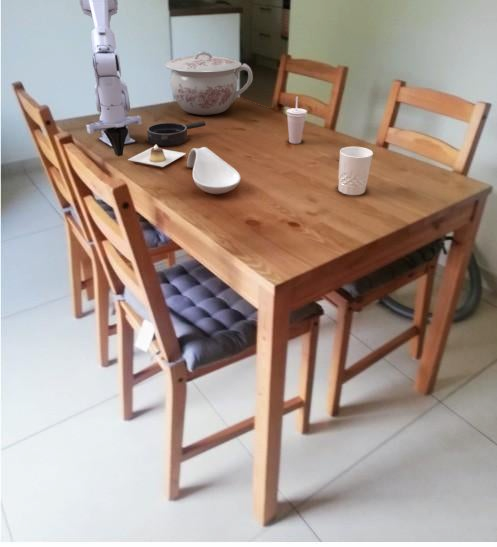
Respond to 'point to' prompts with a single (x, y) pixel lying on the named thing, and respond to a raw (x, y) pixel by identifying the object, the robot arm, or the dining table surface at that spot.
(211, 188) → the spoon rest
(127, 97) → the robot arm
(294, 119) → the smoothie
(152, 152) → the dessert
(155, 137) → the pan
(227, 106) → the chamber pot
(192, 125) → the pan handle
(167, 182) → the dining table surface
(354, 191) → the white cup
